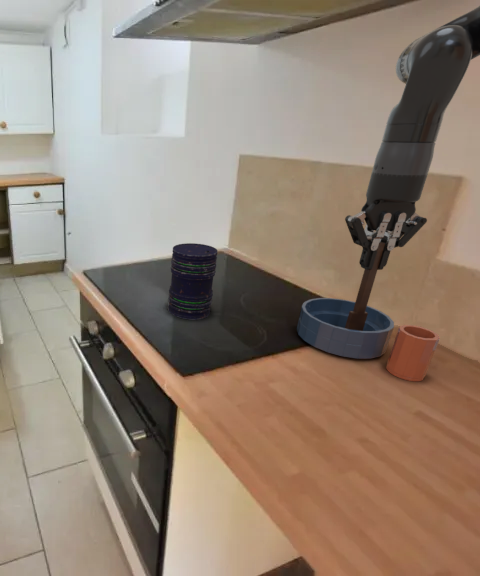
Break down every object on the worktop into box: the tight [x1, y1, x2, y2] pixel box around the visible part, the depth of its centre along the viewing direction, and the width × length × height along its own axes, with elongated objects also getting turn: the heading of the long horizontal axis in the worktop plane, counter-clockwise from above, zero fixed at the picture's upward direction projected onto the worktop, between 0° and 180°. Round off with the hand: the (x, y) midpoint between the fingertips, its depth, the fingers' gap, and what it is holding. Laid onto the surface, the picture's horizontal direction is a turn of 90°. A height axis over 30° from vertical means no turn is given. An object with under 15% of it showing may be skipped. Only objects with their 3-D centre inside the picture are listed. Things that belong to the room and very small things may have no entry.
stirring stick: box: [345, 241, 385, 331], centre depth 72 cm, size 3×1×18 cm, turn 90°
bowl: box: [296, 297, 395, 360], centre depth 75 cm, size 15×15×6 cm
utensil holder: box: [385, 324, 441, 382], centre depth 64 cm, size 5×5×8 cm
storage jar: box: [167, 242, 219, 321], centre depth 86 cm, size 10×10×15 cm
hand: (371, 268), depth 70 cm, fingers closed on stirring stick, 1 cm apart
